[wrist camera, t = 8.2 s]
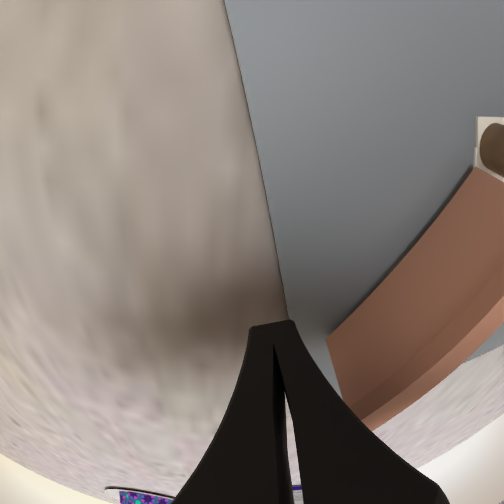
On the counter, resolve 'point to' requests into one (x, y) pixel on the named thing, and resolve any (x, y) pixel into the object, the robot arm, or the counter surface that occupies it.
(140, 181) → the counter surface
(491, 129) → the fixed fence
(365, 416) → the swing panel
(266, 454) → the robot arm
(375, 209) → the card
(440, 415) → the counter surface
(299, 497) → the supplement box
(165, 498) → the pudding
